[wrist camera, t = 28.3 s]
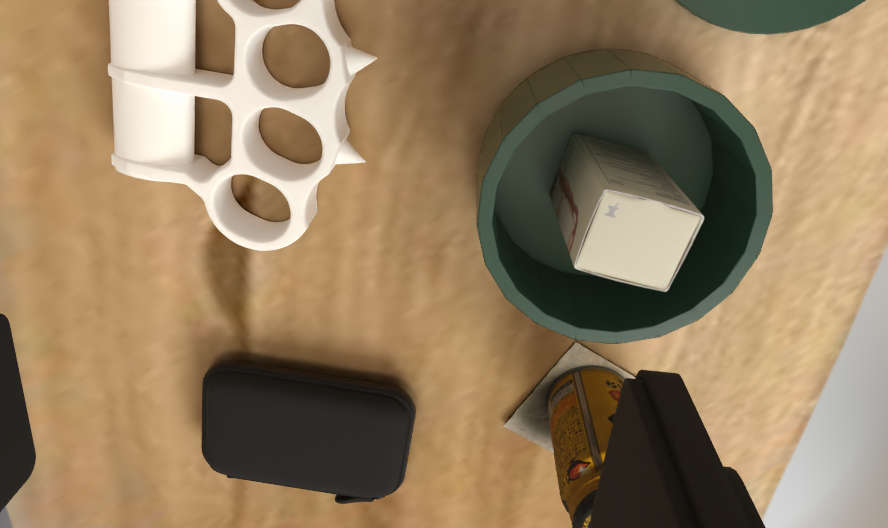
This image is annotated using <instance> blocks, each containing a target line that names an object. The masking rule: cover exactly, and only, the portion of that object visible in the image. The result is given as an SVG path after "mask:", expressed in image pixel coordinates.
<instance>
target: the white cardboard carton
mask: <svg viewBox="0 0 888 528" xmlns="http://www.w3.org/2000/svg"><path fill="white" fill-rule="evenodd" d="M550 199H551V202H552V205H553V208H554V211H555V214H556V216H557V219H558V222H559V225H560V228H561V231H562V234H563V237H564V240H565V242H566V245H567V248H568V251H569V254H570V257H571V260H572V262H573V266H574V268H575V269H577V270H581V271H584V272H587V273H591V274H594V275H597V276H601V277H604V278H608V279H612V280H615V281H619V282H623V283H628V284H631V285H635V286H640V287H644V288H649V289H654V290H659V291H664V292H666V291H668V289H669V288H670V285H671V283H672V282H673V279H674V278H675V276H676V274H677V272H678V270H679V269H680V267H681V265H682V263H683V261H684V259H685V257H686V255H687V253H688V251H689V249H690V247H691V245H692V243H693V241H694V239H695V237H696V235H697V233H698V231H699V229H700V227H701V224H702V223H703V221H704V216H703V214H702V213H701V212H700V211H699V210H698V209H697V208H696V206H695V205H694V204H693V203H692V202H691V201H690V200H689V198H688V197H687V196H686V195H685V194H684V192H683V191H682V190H681V189H680V188H679V187H678V185H677V184H676V183H675V182H674V181H673V180H672V179H671V178H670V176H669V175H668V174H667V173H666V172H665V171H664V169H663V168H662V167H661V166H660V165H659V163H658V162H657V161H656V160H655V159H654V158H653V156H652V155H651V154H650V153H647V152H644V151H641V150H637V149H634V148H631V147H628V146H624V145H621V144H617V143H613V142H610V141H606V140H602V139H598V138H594V137H591V136H586V135H582V134H578V133H573V134H572V136H571V138H570V141H569V143H568V146H567V148H566V151H565V153H564V156H563V158H562V161H561V163H560V166H559V169H558V172H557V174H556V177H555V180H554V183H553V186H552V189H551V192H550Z"/></svg>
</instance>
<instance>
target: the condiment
mask: <svg viewBox="0 0 888 528" xmlns="http://www.w3.org/2000/svg"><path fill="white" fill-rule="evenodd" d="M626 378H632V379H635V377H634V376H632V375H630V374H629V373H627V372H626V371H624V370H622V369H621V368H619V367H617V366H616V365H614V364H612V363H610V362H609V361H607V360H606V359H604V358H602V357H601V356H599V355H597V354H595V353H593V352H592V351H590V350H588V349H587V348H585V347H583V346H582V345H580V344H579V343H577V342H576V343H575V344H574V345H573V346H572V347H571V348H570V349H569V351H568V352H567V353H566V354H565V355H564V356H563V357H562V358H561V359H560V360H559V362H558V363H557V364H556V366H554V367H553V368H552V370H551V371H550V372H549V373H548V374H547V376H546V377H545V378H544V379H543V380H542V381H541V383H540V384H539V385H538V386H537V387H536V389H535V390H534V392H533V393H532V394H531V395H530V396H529V397H528V398H527V399H526V400H525V402H524V403H523V404H522V405H521V406H520V407H519V408H518V410H517V411H516V412H515V413H514V415H513V416H512V417H511V419H510V420H509V421H508V422H507V423H506V424H505V425H504V426H503V427H505V428H507V429H509V430H511V431H513V432H516V433H517V434H519V435H521V436H523V437H525V438H526V439H528V440H530V441H532V442H534V443H536V444H538V445H539V446H541V447H543V448H545V449H546V450H548V451H551V452H552V453H554V457H555V464H556V471H557V477H558V483H559V490H560V496H561V500H562V503H563V505H564V507H565V508H566V511H567V512H568V513H569V514H570V518H571V521H572V525H573V527H572V528H590V525H591V513H592V508H593V504H594V499H595V495H596V491H597V487H598V483H599V479H600V475H601V470H602V466H603V462H604V458H605V454H606V450H607V446H608V441H609V437H610V433H611V429H612V425H613V421H614V417H615V412H616V408H617V404H618V400H619V396H620V392H621V388H622V384H623V382H624V380H625V379H626Z"/></svg>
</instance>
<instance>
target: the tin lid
mask: <svg viewBox="0 0 888 528" xmlns="http://www.w3.org/2000/svg"><path fill="white" fill-rule="evenodd" d="M676 1H677V2H678V3H679V4H680V5H681V6H683V7H684V8H685V9H687V10H688V11H689V12H691V13H692V14H693V15H695V16H697V17H699V18H701V19H703V20H705V21H707V22H709V23H711V24H714V25H717V26H720V27H723V28H726V29H729V30H733V31H738V32H743V33H749V34H779V33H789V32H793V31H798V30H802V29H807V28H810V27H813V26H816V25H819V24H822V23H825V22H827V21H830V20H832V19H834V18H836V17H838V16H840V15H842V14H844V13H846V12H848V11H850V10H851V9H853V8H854V7H856V6H858V5H859V4H861V3H862V2H864V1H866V0H676Z"/></svg>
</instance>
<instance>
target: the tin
mask: <svg viewBox="0 0 888 528" xmlns="http://www.w3.org/2000/svg"><path fill="white" fill-rule="evenodd" d="M573 133H578V134H582V135H586V136H591V137H594V138H598V139H602V140H606V141H610V142H613V143H617V144H621V145H624V146H628V147H631V148H634V149H637V150H641V151H644V152H647V153H650V154H651V155H652V156H653V158H654V159H655V160H656V161H657V162H658V163H659V165H660V166H661V167H662V168H663V169H664V171H665V172H666V173H667V174H668V175H669V176H670V178H671V179H672V180H673V181H674V182H675V183H676V184H677V185H678V187H679V188H680V189H681V190H682V191H683V192H684V194H685V195H686V196H687V197H688V198H689V200H690V201H691V202H692V203H693V204H694V205H695V206H696V208H697V209H698V210H699V211H700V212H701V213H702V214H703V216H704V221H703V223H702V224H701V227H700V229H699V231H698V233H697V235H696V237H695V239H694V241H693V243H692V245H691V247H690V249H689V251H688V253H687V255H686V257H685V259H684V261H683V263H682V265H681V267H680V269H679V270H678V272H677V274H676V276H675V278H674V279H673V282H672V283H671V285H670V288H669V289H668V291H666V292H664V291H659V290H654V289H649V288H644V287H640V286H635V285H631V284H628V283H623V282H619V281H615V280H612V279H608V278H604V277H601V276H597V275H594V274H591V273H587V272H584V271H581V270H577V269H575V268H574V266H573V262H572V260H571V257H570V254H569V251H568V248H567V245H566V242H565V240H564V237H563V234H562V231H561V228H560V225H559V222H558V219H557V216H556V214H555V211H554V208H553V205H552V202H551V199H550V192H551V189H552V186H553V183H554V180H555V177H556V174H557V172H558V169H559V166H560V163H561V161H562V158H563V156H564V153H565V151H566V148H567V146H568V143H569V141H570V138H571V136H572V134H573ZM772 213H773V204H772V170H771V167H770V164H769V162H768V159H767V157H766V154H765V152H764V149H763V147H762V144H761V142H760V139H759V137H758V134H757V132H756V130H755V128H754V126H753V125H752V124H751V123H750V122H749V121H748V120H747V119H746V118H745V117H744V116H743V115H742V114H741V113H740V112H739V111H738V110H737V108H736V107H735V106H734V105H733V104H732V103H731V102H730V101H729V100H728V99H727V98H726V97H725V96H724V95H723V94H721V93H719V92H718V91H716V90H714V89H713V88H711V87H709V86H708V85H706V84H704V83H703V82H701V81H699V80H698V79H696V78H694V77H693V76H691V75H689V74H688V73H686V72H684V71H683V70H681V69H679V68H677V67H675V66H673V65H670V64H668V63H666V62H664V61H662V60H660V59H658V58H656V57H654V56H652V55H650V54H647V53H640V52H635V51H629V50H619V49H602V50H591V51H586V52H582V53H577V54H573V55H570V56H568V57H565V58H562V59H559V60H557V61H555V62H553V63H551V64H549V65H547V66H545V67H543V68H541V69H540V70H538V71H537V72H536V73H534V74H533V75H531V76H530V77H528V78H527V79H526V80H525V81H524V82H523V83H521V84H520V85H519V86H518V87H517V88H516V89H515V90H514V91H513V92H512V93H511V94H510V95H509V97H508V98H507V99H506V100H505V101H504V102H503V104H502V105H501V107H500V108H499V110H498V111H497V113H496V114H495V116H494V118H493V120H492V122H491V124H490V126H489V128H488V130H487V132H486V135H485V138H484V140H483V142H482V146H481V152H480V158H479V167H478V175H477V228H478V233H479V238H480V243H481V248H482V252H483V257H484V262H485V265H486V267H487V268H488V270H489V271H490V273H491V275H492V276H493V278H494V280H495V281H496V283H497V285H498V286H499V288H500V290H501V291H502V293H503V295H504V296H505V298H506V299H507V300H509V301H510V302H511V303H512V304H513V305H514V306H516V307H517V308H518V309H519V310H520V311H522V312H523V313H524V314H525V315H526V316H528V317H529V318H530V319H531V320H532V321H533V322H535V323H537V324H538V325H541V326H543V327H545V328H548V329H550V330H553V331H555V332H557V333H560V334H562V335H565V336H567V337H569V338H572V339H575V340H583V341H592V342H601V343H610V344H615V343H616V344H619V343H626V342H632V341H638V340H645V339H651V338H657V337H661V336H663V335H666V334H668V333H670V332H672V331H675V330H677V329H679V328H681V327H684V326H686V325H688V324H691V323H693V322H695V321H697V320H698V319H700V318H702V317H703V316H704V315H705V314H707V313H708V312H709V311H710V310H712V309H713V308H714V307H715V306H717V305H718V304H719V303H720V302H722V301H723V300H724V299H725V298H727V297H728V296H729V295H730V294H732V293H733V291H734V290H735V288H736V287H737V286H738V284H739V283H740V281H741V280H742V278H743V277H744V276H745V274H746V273H747V271H748V270H749V269H750V267H751V266H752V264H753V263H754V262H755V260H756V259H757V257H758V255H759V254H760V251H761V248H762V245H763V242H764V239H765V236H766V233H767V230H768V226H769V223H770V220H771V217H772Z"/></svg>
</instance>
